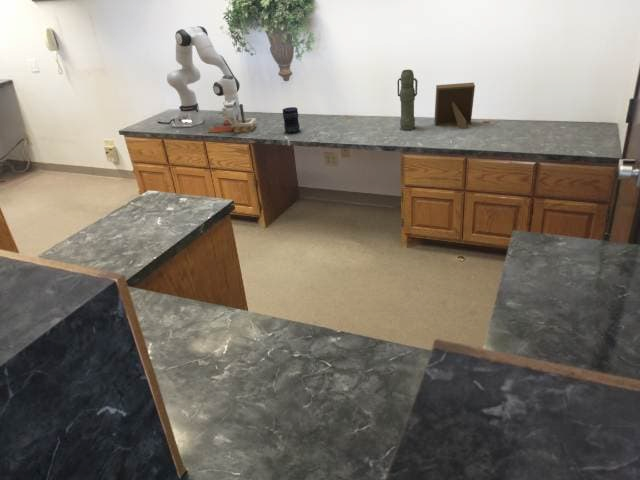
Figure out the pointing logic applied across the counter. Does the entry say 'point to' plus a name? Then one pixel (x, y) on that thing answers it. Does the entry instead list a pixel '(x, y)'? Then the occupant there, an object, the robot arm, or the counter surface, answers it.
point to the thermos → (407, 99)
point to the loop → (244, 123)
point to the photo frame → (454, 104)
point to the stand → (243, 129)
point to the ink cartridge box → (226, 120)
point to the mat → (221, 129)
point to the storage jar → (291, 120)
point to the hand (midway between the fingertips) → (235, 122)
